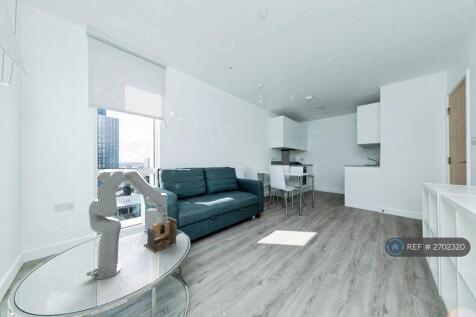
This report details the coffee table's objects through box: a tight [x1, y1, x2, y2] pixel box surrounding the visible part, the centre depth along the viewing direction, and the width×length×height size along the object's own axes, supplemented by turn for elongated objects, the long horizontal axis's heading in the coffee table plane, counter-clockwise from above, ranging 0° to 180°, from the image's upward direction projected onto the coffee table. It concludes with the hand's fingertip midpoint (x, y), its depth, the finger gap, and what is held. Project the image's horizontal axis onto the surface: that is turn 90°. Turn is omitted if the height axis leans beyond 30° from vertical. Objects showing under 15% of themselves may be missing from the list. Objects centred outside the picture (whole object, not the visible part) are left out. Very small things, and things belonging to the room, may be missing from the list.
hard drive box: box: [144, 207, 157, 231], centre depth 166 cm, size 16×8×20 cm, turn 84°
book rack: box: [143, 215, 178, 253], centre depth 139 cm, size 18×16×19 cm
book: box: [152, 221, 170, 239], centre depth 140 cm, size 12×4×10 cm, turn 142°
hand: (160, 232), depth 139 cm, fingers closed on book, 4 cm apart
